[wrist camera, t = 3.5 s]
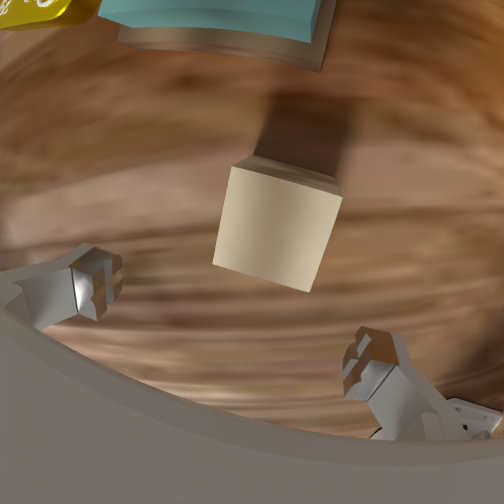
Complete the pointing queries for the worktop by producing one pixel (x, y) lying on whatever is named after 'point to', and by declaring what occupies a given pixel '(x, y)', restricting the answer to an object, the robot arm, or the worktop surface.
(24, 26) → the element tile
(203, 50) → the walnut slab
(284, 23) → the teal slab
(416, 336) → the worktop surface
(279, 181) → the maple cube
